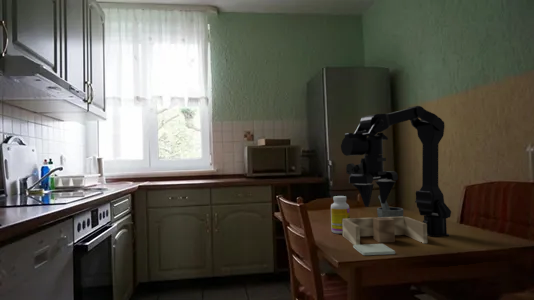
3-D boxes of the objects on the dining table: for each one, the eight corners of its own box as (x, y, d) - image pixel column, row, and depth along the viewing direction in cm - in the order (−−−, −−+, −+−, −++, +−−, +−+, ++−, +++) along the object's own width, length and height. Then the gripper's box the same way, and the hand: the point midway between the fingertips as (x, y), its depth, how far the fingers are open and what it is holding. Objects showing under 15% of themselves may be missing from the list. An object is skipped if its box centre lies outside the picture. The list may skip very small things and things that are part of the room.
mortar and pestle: (409, 228, 138) (408, 195, 138) (388, 230, 135) (387, 197, 135) (390, 223, 149) (389, 193, 149) (370, 225, 146) (369, 194, 146)
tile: (382, 246, 111) (382, 243, 111) (395, 254, 102) (395, 251, 102) (353, 247, 111) (353, 244, 111) (363, 255, 102) (363, 252, 102)
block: (388, 238, 122) (387, 217, 122) (394, 241, 117) (394, 219, 117) (373, 239, 121) (373, 217, 122) (379, 242, 116) (378, 220, 117)
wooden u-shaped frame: (406, 233, 128) (405, 216, 128) (427, 243, 114) (426, 223, 114) (342, 236, 126) (342, 218, 127) (356, 246, 112) (355, 226, 112)
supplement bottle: (350, 234, 129) (349, 197, 130) (331, 234, 131) (330, 197, 131) (349, 230, 136) (349, 195, 136) (331, 230, 137) (330, 195, 138)
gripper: (367, 154, 128) (369, 200, 127) (333, 156, 115) (335, 206, 115) (397, 154, 119) (399, 202, 119) (364, 155, 107) (366, 209, 107)
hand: (375, 205), depth 115 cm, fingers open, 9 cm apart
